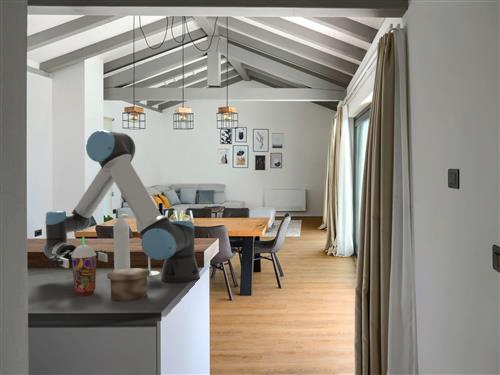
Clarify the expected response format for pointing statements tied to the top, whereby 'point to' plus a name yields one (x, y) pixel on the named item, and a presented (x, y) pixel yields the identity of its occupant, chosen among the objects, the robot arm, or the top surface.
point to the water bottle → (121, 243)
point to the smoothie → (84, 269)
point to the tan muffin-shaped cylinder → (128, 284)
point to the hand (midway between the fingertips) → (87, 260)
